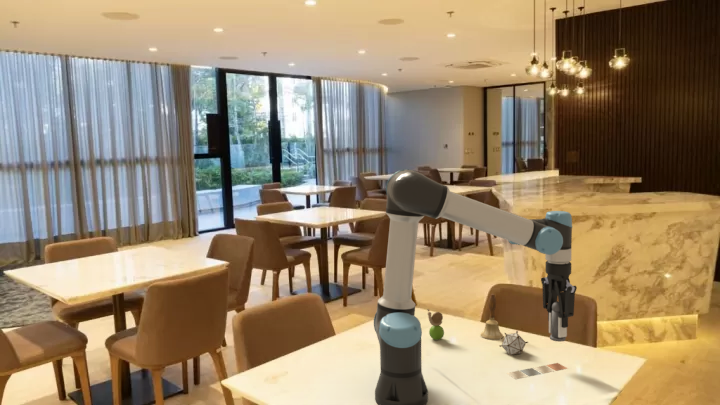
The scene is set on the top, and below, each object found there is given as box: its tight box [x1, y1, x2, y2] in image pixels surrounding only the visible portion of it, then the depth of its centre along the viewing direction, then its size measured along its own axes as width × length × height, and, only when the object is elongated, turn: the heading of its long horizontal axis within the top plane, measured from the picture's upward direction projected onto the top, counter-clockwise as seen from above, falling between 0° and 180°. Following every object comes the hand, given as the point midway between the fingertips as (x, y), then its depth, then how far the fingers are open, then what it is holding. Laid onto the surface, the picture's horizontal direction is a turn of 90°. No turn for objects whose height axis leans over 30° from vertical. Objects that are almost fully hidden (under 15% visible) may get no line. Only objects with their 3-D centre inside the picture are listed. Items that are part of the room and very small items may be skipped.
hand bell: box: [480, 293, 504, 341], centre depth 201 cm, size 8×8×16 cm
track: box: [506, 362, 568, 380], centre depth 168 cm, size 21×7×1 cm, turn 110°
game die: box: [499, 330, 529, 356], centre depth 183 cm, size 9×8×10 cm
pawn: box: [549, 300, 567, 342], centre depth 169 cm, size 5×5×12 cm
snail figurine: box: [427, 308, 445, 341], centre depth 199 cm, size 5×6×12 cm
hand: (557, 334), depth 169 cm, fingers closed on pawn, 3 cm apart
